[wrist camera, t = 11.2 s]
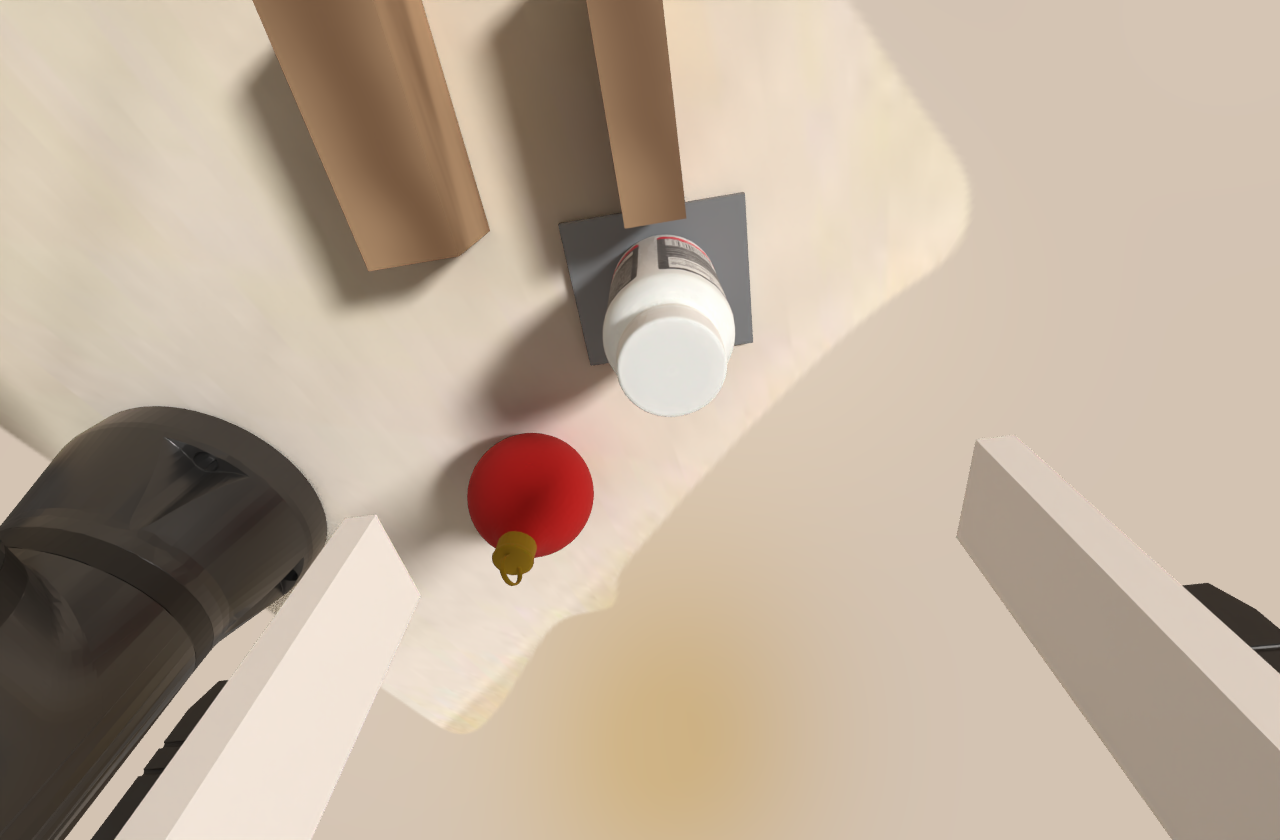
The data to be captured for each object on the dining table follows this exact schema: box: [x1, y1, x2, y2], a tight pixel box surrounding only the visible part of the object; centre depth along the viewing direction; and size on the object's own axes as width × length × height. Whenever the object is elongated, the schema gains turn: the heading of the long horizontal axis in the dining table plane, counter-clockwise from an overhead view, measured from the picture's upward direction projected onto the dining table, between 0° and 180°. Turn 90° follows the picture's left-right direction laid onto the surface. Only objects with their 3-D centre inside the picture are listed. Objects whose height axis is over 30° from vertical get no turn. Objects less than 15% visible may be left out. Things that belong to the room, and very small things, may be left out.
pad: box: [558, 192, 753, 365], centre depth 27 cm, size 9×8×1 cm
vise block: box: [253, 0, 686, 271], centre depth 21 cm, size 14×10×5 cm
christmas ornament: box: [467, 433, 594, 586], centre depth 29 cm, size 7×7×10 cm
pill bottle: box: [603, 235, 735, 417], centre depth 23 cm, size 5×5×10 cm
